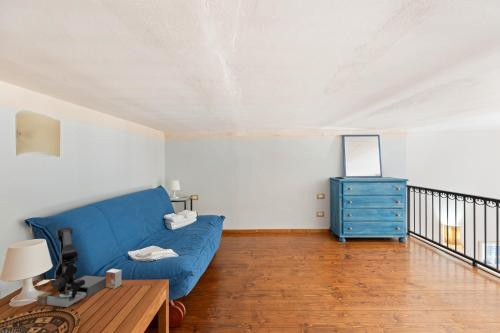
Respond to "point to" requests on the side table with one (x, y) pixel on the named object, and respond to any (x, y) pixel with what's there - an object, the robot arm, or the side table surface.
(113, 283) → the small box
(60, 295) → the disc
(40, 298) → the pedestal
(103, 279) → the housing
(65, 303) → the tray
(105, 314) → the side table surface
